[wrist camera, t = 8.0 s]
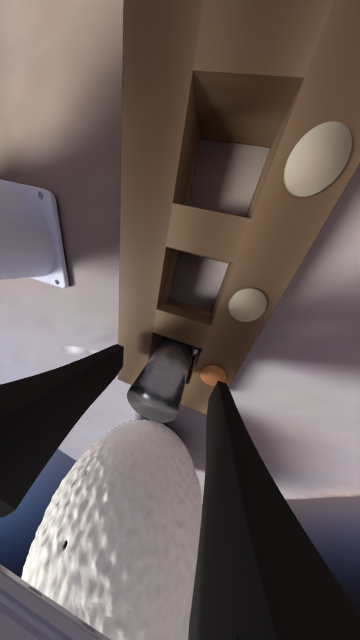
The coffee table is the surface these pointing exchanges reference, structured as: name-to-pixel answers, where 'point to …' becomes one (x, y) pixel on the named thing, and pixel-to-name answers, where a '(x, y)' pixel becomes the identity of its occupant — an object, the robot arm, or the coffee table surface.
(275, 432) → the coffee table surface
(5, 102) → the coffee table surface
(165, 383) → the pin
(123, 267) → the pin board
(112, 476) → the white textured round lump
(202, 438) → the coffee table surface
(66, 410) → the robot arm
